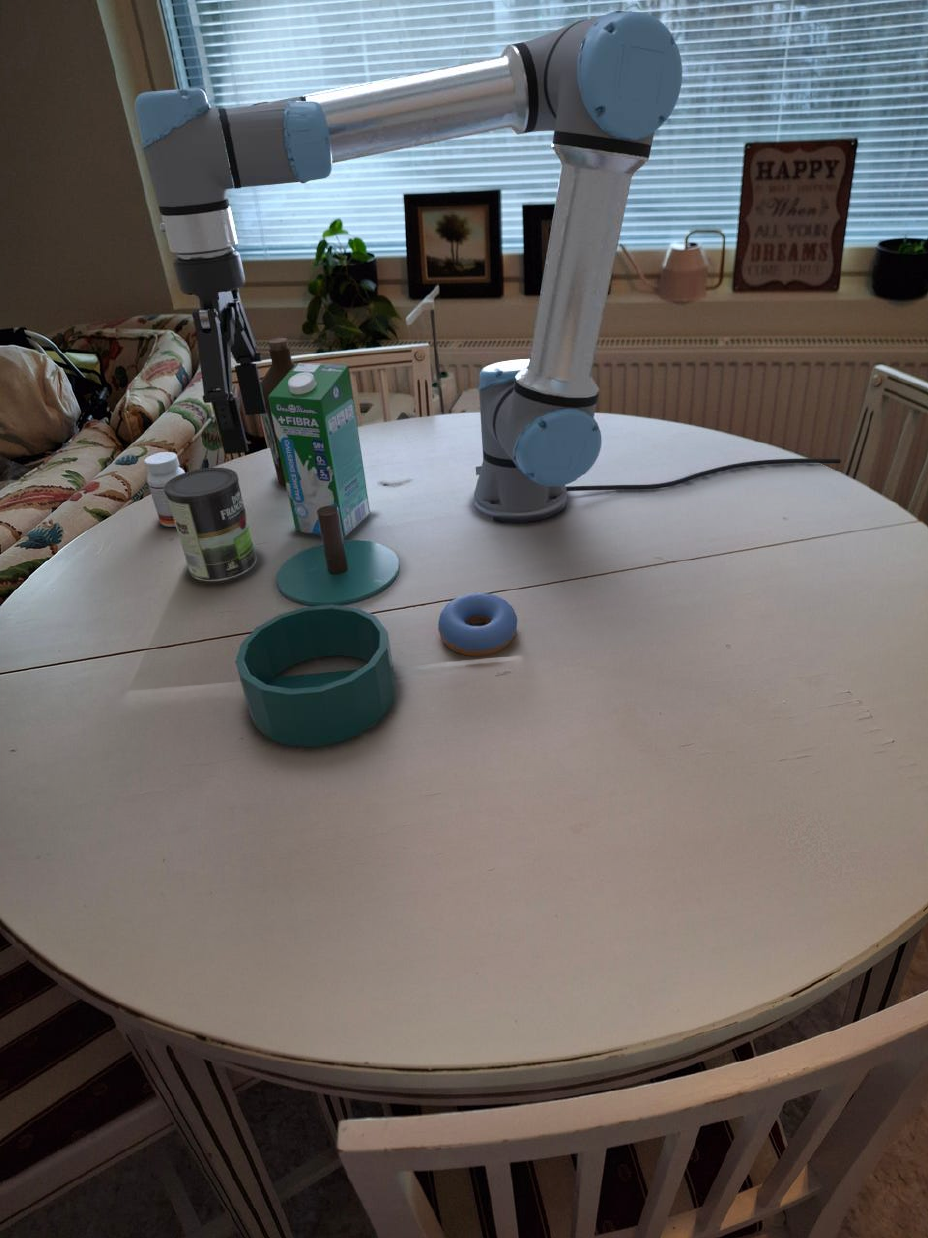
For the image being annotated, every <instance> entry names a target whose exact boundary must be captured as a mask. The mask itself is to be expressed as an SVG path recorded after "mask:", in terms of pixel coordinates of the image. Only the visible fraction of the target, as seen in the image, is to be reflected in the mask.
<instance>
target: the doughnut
mask: <svg viewBox="0 0 928 1238" xmlns="http://www.w3.org/2000/svg"><path fill="white" fill-rule="evenodd" d="M476 622H481V623H482V622H483V623H486V624H484V625H470V624H471V623H476ZM437 625H438V626H437V629H438V632H439V635H440V639H441V640H442V642H443V643H444V644H445V645H446V646H447V648H449V649H450V650H452V651H454V652H455V653H457V654H460V655H465V656H468V657H482V656H490V655H493V654H495V653H498V652H500V651H502V650H504V649H505V648H506V647H507V646H509V645H510V644H511V642H512V641H513V639H514V638H515V636H516V634H517V630H518V629H517V628H518V616H517V613H516V611H515V608H514V607H513V606H512V605H511V604H510V603H509V602H508V601H507V600H506V599H504V598H502V597H500V596H499V595H495V594H493V593H492V594H491V593H488V592H471V593H466V594H463V595H460V596H458V597H455V598H454V599H452V600H451V601H450V602H448V603H447V604H446V605H445V606H444V607H443V609H442V610H441V612H440V613H439V618H438V624H437Z"/></svg>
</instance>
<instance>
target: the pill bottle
mask: <svg viewBox="0 0 928 1238" xmlns="http://www.w3.org/2000/svg"><path fill="white" fill-rule="evenodd" d="M143 461H144V465H145V469H146V472H147V473H148V474H147V478H146V481H147V486H148V488H149V492H150V494H151V498H152V500H153V504H154V507H155V510H156V513H157V517H158V520H159V522H160V524H161V525H162V526H164V527H168V528H176V525H175V522H174V518H173V515H172V512H171V508H170V504H169V501H168V498H167V496H166V494H165V491H164V486H165V485H166V483H167V482H168V481H170V480H171V479H173V478H174V477H176V476H178V475H181V474H183V473H186V472H185V470H184V469H183V468H182V467H180V461H179V458H178V455H177V454H176V452H172V451H161V452H157V453H153V454H151V455H149V456H147V457H146V458H145V459H144V460H143Z"/></svg>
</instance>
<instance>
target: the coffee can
mask: <svg viewBox="0 0 928 1238" xmlns="http://www.w3.org/2000/svg"><path fill="white" fill-rule="evenodd" d="M239 480H240V479H239V475H238V473H237V472H236V471H235V470H232V469H230V468H226V467H203V468H198V469H193V470H189V471H186V472H185V473H183V474H181V475H178V476H176V477H174V478H173V479H171V480H170V481H168V482H167V483H166V485H165V486H164V491H165V494H166V496H167V498H168V501H169V504H170V508H171V512H172V515H173V518H174V522H175V525H176V527H175V528H176V531H177V535H178V538H179V541H180V545H181V549H182V552H183V554H184V558H185V562H186V565H187V568H188V572H189V574H190V575H191V577H193V578H194V579H196V580H199V581H206V582H219V581H224V580H229V579H232V578H237V577H238V576H241V575H242V574H245V573H246V572H248V571H249V570H251V569H252V568H253V567H254V566H255V565H256V562H257V555H256V550H255V546H254V542H253V541H254V540H253V538H252V537H253V536H252V533H251V529H250V526H249V525H250V524H249V521H248V517H247V516H248V515H247V513H246V508H245V504H244V500H243V495H242V491H241V486H240V482H239Z"/></svg>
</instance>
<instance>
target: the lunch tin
mask: <svg viewBox="0 0 928 1238" xmlns="http://www.w3.org/2000/svg"><path fill="white" fill-rule="evenodd" d="M331 656H344V657H352V658H358V659H362V660H364V661H365V662H367V663H366V664H365V665H363V666H362V667H361V668H359V669H350V670H340V671H329V672H328V671H326V672H317V673H305V674H293V675H284V676H277V675H279V674H281V673H282V672H283V671H285V670H286V669H288V668H290V667H292V666H293V665H295V664H299V663H303V662H305V661H308V660H311V659H315V658H323V657H331ZM392 657H393V656H392V651H391V644H390V638H389V631H388V630H387V628H386V627H385V625H384V624H383V623H382V622H381V620H380V619H379V618H378V617H377V616H376V615H374V614H372V613H370V612H368V611H365V610H364V609H361V608H359V607H356V606H355V607H354V606H347V605H333V604H331V605H320V606H316V605H309V606H304V607H300V608H297V609H294V610H290V611H288V612H287V611H286V612H284V613H282V614H277V615H276V616H274V617H273V618H271V619H269V620H267V621H265V622H264V623H262V624H260V625H258V626H257V627H256V628H254V629H253V630H252V631H251V632H250V633H249V635H247V637H246V638H244V640H243V641H242V642H241V643H240V644H239V648H238V651H237V655H236V658H235V665H236V669H237V672H238V677H239V680H240V683H241V687H242V690H243V694H244V697H245V701H246V704H247V709H248V711H249V714H250V715H251V716H250V717H251V718H252V719H251V720H252V722H253V723H254V726H255V727H256V728H257V730H258V731H259V732H260V733H262V734H263V735H264V736H265V737H267V738H268V739H270V740H272V741H274V742H277V743H279V744H282V745H287V746H292V747H293V746H294V747H302V748H313V747H314V748H315V747H321V746H322V747H323V746H329V745H333V744H338V743H342V742H344V741H348V740H350V739H352V738H355V737H357V736H359V735H360V734H362V733H365V732H367V730H369V729H370V728H373V726H375V725H376V724H377V723H378V722H380V720H382V718H384V717H385V715H387V713H388V711H389V710H390V708H391V707H392V705H393V702H394V699H395V694H396V687H395V685H396V683H395V682H396V681H395V680H396V679H395V678H396V677H395V671H394V665H393V664H394V663H393V659H392Z"/></svg>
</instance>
